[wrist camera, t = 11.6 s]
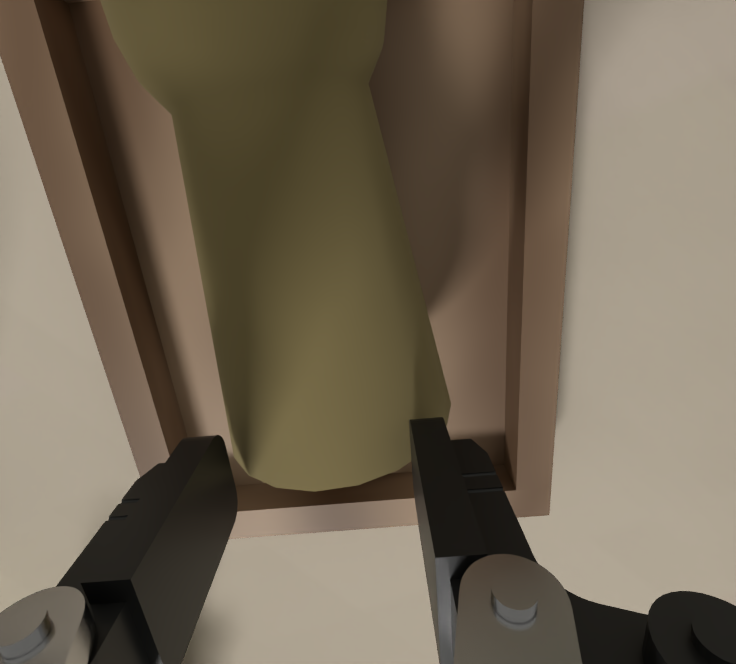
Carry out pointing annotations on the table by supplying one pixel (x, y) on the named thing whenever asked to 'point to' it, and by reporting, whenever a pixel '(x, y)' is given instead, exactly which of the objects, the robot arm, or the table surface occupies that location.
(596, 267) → the table surface
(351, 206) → the cork
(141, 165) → the walnut tray
